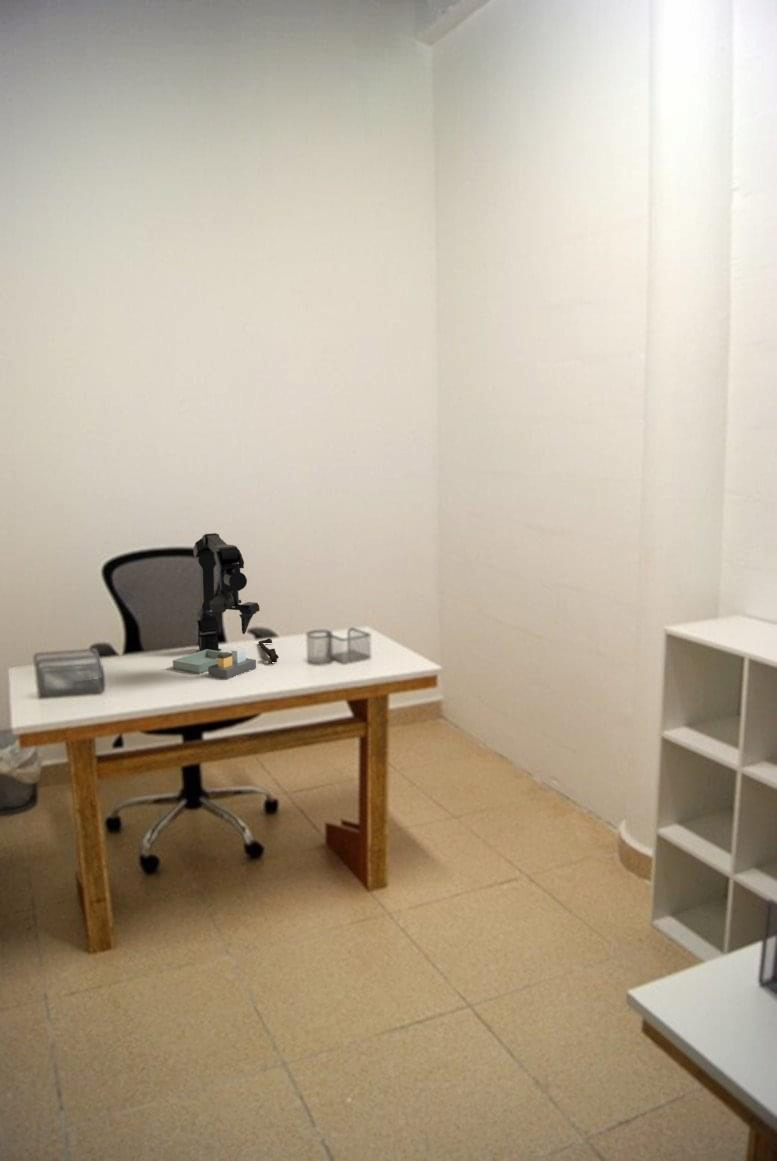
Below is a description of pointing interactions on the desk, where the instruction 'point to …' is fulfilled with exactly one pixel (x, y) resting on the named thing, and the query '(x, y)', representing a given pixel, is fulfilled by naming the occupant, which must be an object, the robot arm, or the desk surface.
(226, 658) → the tan and brown block
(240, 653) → the white rectangular block
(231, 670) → the fuse block
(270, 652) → the wrench
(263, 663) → the desk surface
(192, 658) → the parts tray
